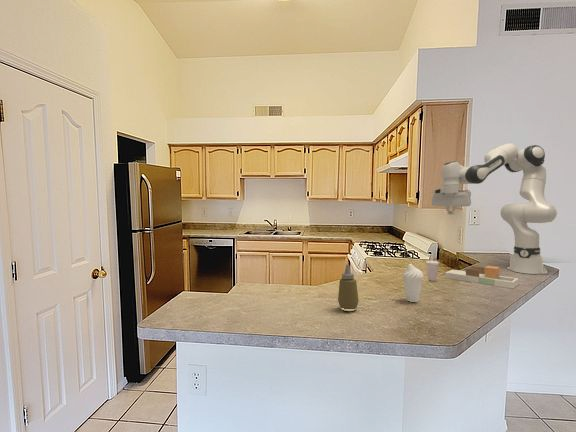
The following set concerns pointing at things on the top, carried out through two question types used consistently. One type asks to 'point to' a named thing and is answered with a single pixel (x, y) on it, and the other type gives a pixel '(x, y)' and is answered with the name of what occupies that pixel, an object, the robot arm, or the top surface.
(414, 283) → the soft serve ice cream cone
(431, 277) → the smoothie
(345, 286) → the squeeze bottle
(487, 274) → the block
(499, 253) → the top surface
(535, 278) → the top surface
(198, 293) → the top surface
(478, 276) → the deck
